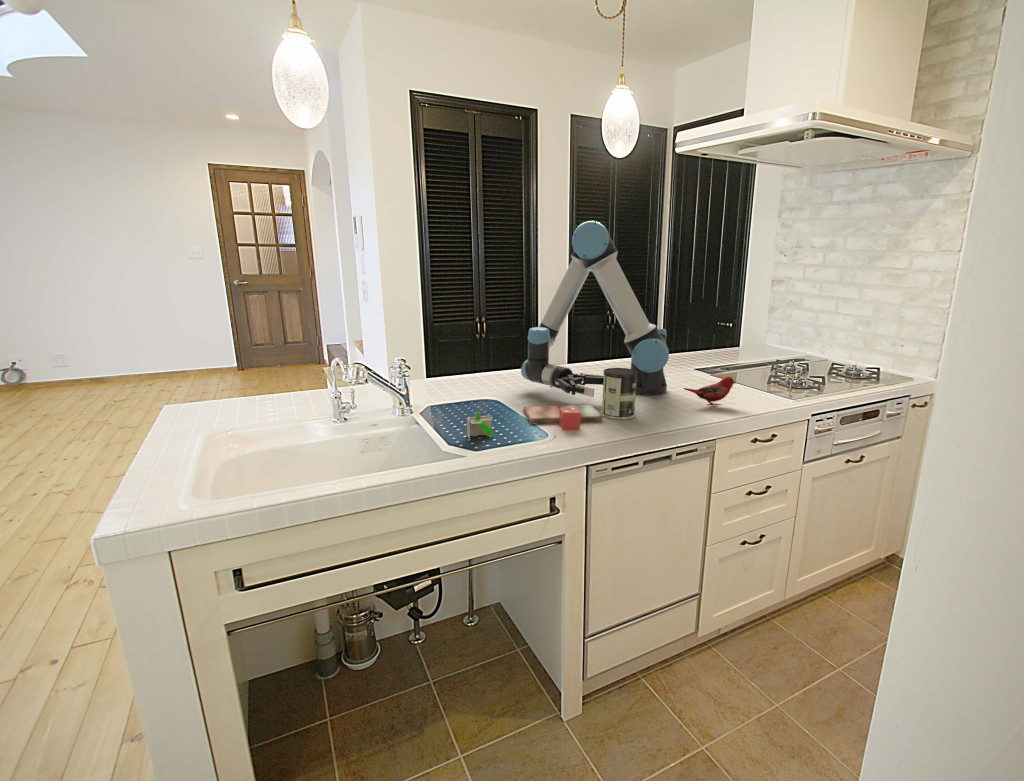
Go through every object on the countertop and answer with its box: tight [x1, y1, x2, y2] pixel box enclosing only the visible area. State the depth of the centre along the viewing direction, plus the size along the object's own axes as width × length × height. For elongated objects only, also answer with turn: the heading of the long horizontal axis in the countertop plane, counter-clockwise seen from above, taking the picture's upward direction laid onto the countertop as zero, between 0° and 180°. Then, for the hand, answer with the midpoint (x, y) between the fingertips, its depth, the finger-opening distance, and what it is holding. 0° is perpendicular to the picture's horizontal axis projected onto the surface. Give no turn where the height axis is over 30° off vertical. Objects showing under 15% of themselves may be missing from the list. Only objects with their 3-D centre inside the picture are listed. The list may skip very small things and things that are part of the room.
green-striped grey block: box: [466, 411, 494, 440], centre depth 144 cm, size 4×7×8 cm, turn 109°
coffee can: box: [601, 367, 638, 420], centre depth 164 cm, size 10×10×14 cm
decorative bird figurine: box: [682, 376, 736, 406], centre depth 174 cm, size 3×18×10 cm, turn 93°
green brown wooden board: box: [523, 404, 604, 425], centre depth 163 cm, size 22×13×2 cm, turn 98°
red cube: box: [558, 408, 581, 431], centre depth 153 cm, size 5×5×5 cm
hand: (607, 389), depth 166 cm, fingers open, 13 cm apart
